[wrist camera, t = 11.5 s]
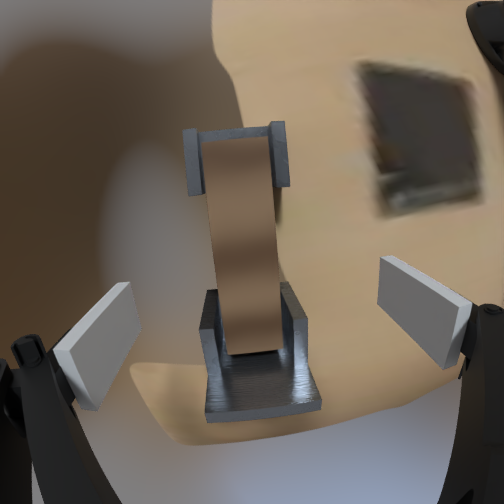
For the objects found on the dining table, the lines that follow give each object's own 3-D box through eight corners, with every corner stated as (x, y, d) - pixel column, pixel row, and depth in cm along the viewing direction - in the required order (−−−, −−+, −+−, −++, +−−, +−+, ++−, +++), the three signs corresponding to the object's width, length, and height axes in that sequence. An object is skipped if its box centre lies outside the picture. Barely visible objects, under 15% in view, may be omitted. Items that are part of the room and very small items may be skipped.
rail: (207, 150, 26) (201, 142, 20) (260, 145, 26) (267, 136, 21) (228, 323, 31) (227, 354, 25) (274, 318, 31) (283, 348, 25)
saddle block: (189, 137, 28) (182, 130, 23) (277, 129, 28) (284, 121, 24) (194, 193, 29) (188, 196, 25) (282, 185, 29) (290, 186, 25)
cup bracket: (207, 289, 32) (192, 365, 18) (288, 281, 32) (324, 350, 18) (214, 336, 33) (207, 422, 20) (290, 328, 34) (320, 409, 20)
